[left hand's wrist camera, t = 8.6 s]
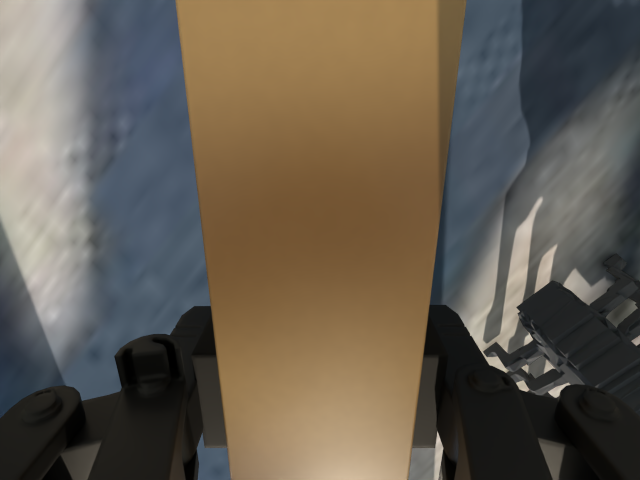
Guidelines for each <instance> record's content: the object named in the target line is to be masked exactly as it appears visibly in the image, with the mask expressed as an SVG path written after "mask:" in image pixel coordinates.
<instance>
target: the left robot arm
mask: <svg viewBox="0 0 640 480" xmlns="http://www.w3.org/2000/svg"><path fill="white" fill-rule="evenodd" d="M115 361H116V365H117V369H118V373H119V378H120V382H121V386H122V388H121V391H120V392H117V393H113V394H110V395H106V396H102V397H97V398H93V399H88V400H84V401H82V400H81V396H80V393H79V392H78V391H77V390H76V389H75V388H74V387H69V386H55V387H49V388H46V389H43V390H40V391H37V392H35V393H33V394H31V395H29V396H27V397H25V398H23V399H22V400H21V401H19V402H18V403H17V404H15V405H14V406H13V407H12V408H10V409H9V410H8V411H7V412H6V413H5V414H4V415H3V416H2V417H1V418H0V480H198V469H199V461H198V455H197V446H198V443H199V440H200V437H201V434H202V432H203V439H204V446H205V448H227V442H226V434H225V425H224V416H223V408H222V399H221V390H220V382H219V373H218V364H217V356H216V347H215V338H214V330H213V321H212V312H211V306H194V307H193V308H191V309H190V310H189V311H187V312H186V313H185V314H183V315H182V316H181V318H180V320H179V321H178V323H177V324H176V327H175V328H174V329H173V331H172V333H171V334H170V335H167V334H152V335H148V336H143V337H140V338H138V339H135V340H133V341H130V342H129V343H127V344H126V345H125V346H123V347H122V348H120V350H119V351H118V352H117V354H116V355H115ZM437 430H438V433H439V436H440V439H441V442H442V445H443V455H442V461H441V467H440V474H439V480H640V416H639V415H638V414H637V413H636V412H635V411H634V410H633V409H632V408H631V407H630V406H628V405H627V404H626V403H625V402H623V401H622V400H621V399H619V398H618V397H616V396H615V395H613V394H611V393H609V392H607V391H605V390H602V389H599V388H596V387H593V386H590V385H582V384H573V385H568V386H566V387H565V388H563V389H562V390H561V392H560V395H559V399H554V398H550V397H545V396H541V395H536V394H532V393H528V392H525V391H522V390H519V388H518V386H517V384H516V383H515V381H514V380H513V379H512V378H511V377H510V376H509V375H507V374H506V373H505V372H504V371H502V370H500V369H497V368H495V367H493V366H490V365H489V364H488V362H487V361H486V359H485V357H484V356H483V354H482V353H481V351H480V349H479V348H478V346H477V344H476V343H475V341H474V340H473V338H472V336H470V333H469V331H468V330H467V328H466V327H465V326H464V323H463V322H462V320H461V318H460V317H459V315H458V314H457V313H456V312H454V311H453V310H452V309H450V308H449V307H447V306H446V305H429V313H428V321H427V329H426V337H425V345H424V354H423V362H422V370H421V378H420V387H419V395H418V403H417V411H416V419H415V428H414V436H413V444H412V448H435V444H436V437H437Z"/></svg>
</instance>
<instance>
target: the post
mask: <svg viewBox="0 0 640 480" xmlns="http://www.w3.org/2000/svg"><path fill="white" fill-rule="evenodd" d="M465 8H466V0H176V9H177V17H178V26H179V35H180V43H181V52H182V61H183V69H184V78H185V87H186V95H187V104H188V113H189V121H190V130H191V139H192V147H193V156H194V165H195V173H196V182H197V191H198V199H199V208H200V217H201V225H202V234H203V243H204V251H205V260H206V269H207V278H208V286H209V295H210V304H211V312H212V321H213V330H214V338H215V347H216V356H217V364H218V373H219V382H220V390H221V399H222V408H223V416H224V425H225V434H226V442H227V451H228V460H229V468H230V477H231V480H408V477H409V469H410V461H411V452H412V444H413V436H414V428H415V419H416V411H417V403H418V395H419V387H420V378H421V370H422V362H423V354H424V345H425V337H426V329H427V321H428V313H429V304H430V296H431V288H432V280H433V271H434V263H435V255H436V247H437V239H438V230H439V222H440V214H441V206H442V197H443V189H444V181H445V173H446V165H447V156H448V148H449V140H450V132H451V123H452V115H453V107H454V99H455V91H456V82H457V74H458V66H459V58H460V50H461V41H462V33H463V25H464V17H465Z"/></svg>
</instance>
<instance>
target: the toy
mask: <svg viewBox="0 0 640 480" xmlns="http://www.w3.org/2000/svg"><path fill="white" fill-rule="evenodd" d="M604 264H605V266H606V267H607V268H608V269H607V270H606V271H607V272H609V273H611V274H612V275H613V276H614V277H616V278H617V280H615V281H616V283H614V284H613V285H612V286H611V287H609V288H608V290H607V292H606V293H605V294H603V295H602V296H601V297H599V298H598V299H596V300H595V301H594V302H592V303H591V304H590V306H589V305H587V304H586V303H584V302H583V301H581V300H580V299H579V298H578V297H577V296H576V295H575V294H574V293H573V292H572V291H570V290H568V289H567V288H565V287H564V286H562V285H561V284H560V283H558V282H555V281H551V282H550V283H548V284H547V285H546V286H544V287H543V288H542V289H540V290H539V291H538V292H536V293H535V294H534V295H532V296H531V297H530V298H528V299H527V300H526V301H524V302H523V303H521V304H520V305H519V306H517V307H516V308H517V309H518V310H519V311H520V312H519V313H518V316H519V318H520V320H521V322H522V324H523V326H524V327H525V328H526V329H527V330H528V331H529V333H530V335H531V336H532V338H533V341H531V342H530V343H529V344H527V345H525V346H523V347H521V348H519V349H518V350H516V351H515V352H513V353H512V354H508V353H506V352H505V350H504V349H503V348H502V347H501V346H500V345H499V344H498V343H497V342H495V343H494V344H493V345H491V346H490V347H489V348H487V349H486V350H485V351H483V352H484V354H485V355H486V356H487V357H496V356H498V357H499V359H500V360H501V362H502V363H503V365H504V366H505V368H506V369H508V370H509V372H507V373H506V374H507V375H509V376H510V377H511V378H512V379H513V380H514V381H515V383H516V382H519V381H522V380H524V381H525V383H526V385H527V387H528V388H529V389H530V390H529V391H528V393H532V394H536V395H541V396H545V397H550V398H554V397H553V396H551V395H550V394H549V393H548V391H550V390H551V389H553V388H555V387H556V386H559V385H563V384H565V383H568V382H569V383H570V384H571V385H573V384H582V385H590V386H593V387H596V388H599V389H602V390H605V391H607V392H609V393H611V394H613V395H615V396H616V397H618V398H619V399H621V400H622V401H623V402H625V403H626V404H627V405H628V406H630V407H631V408H632V409H633V410H634V411H635V412H636V413H637V414H638V415H639V416H640V344H639V345H637V346H636V345H635V344H633V343H632V342H631V341H632V340H633V339H635V338H636V337H637V336H639V335H640V281H636V280H635V279H634V278H632V277H631V276H629V275H628V274H626V273H625V272H623V271H621V270H622V269H623V268H624V267H625V266H626V264H627V263H626V262H625V261H624V260H623V259H622V258H621V257H620V256H618V255H617V254H615V255H613V256H612V257H611V258H609V259H608V260H607V261H605V262H604ZM635 281H636V282H635ZM634 282H635V283H634ZM628 297H629V298H630V299H632V300H633V301H635V302H636V304H635V305H636V306H637V307H638V309H636V310H635V311H634V312H633V313H632V314H630V315H629V316H628V317H627V318H625V319H624V320H623V321H622V322H621V323H620V324H619V325H618V327H617V328H616V327H615V326H614V325H613V324H612V323H611V322H610V321H608V320H607V319H606V316H607V315H608V314H609V313H610V312H611V311H612V310H613V309H615V308H616V307H617V306H618V305H620V304H621V303H622V302H623V301H625V300H626V299H627V298H628ZM541 356H544V357H545V358H546V359H547V360H548V361H549V362H550V363H551V364H552V366H553V367H554V368H555V369H551V370H550V371H548V372H546V373H545V374H543V375H541V376H539V377H538V378H536V379H535V378H534V377H533V376H532V374H531V373H530V374H529V375H528V373H527V372H526V371H524V370H523V369H522V368H521V367H523V366H524V365H526V364H527V365H530V364H531V363H532V362H534V361H535V360H536V359H538V358H539V357H541ZM554 399H559V397H557V398H554Z"/></svg>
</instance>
